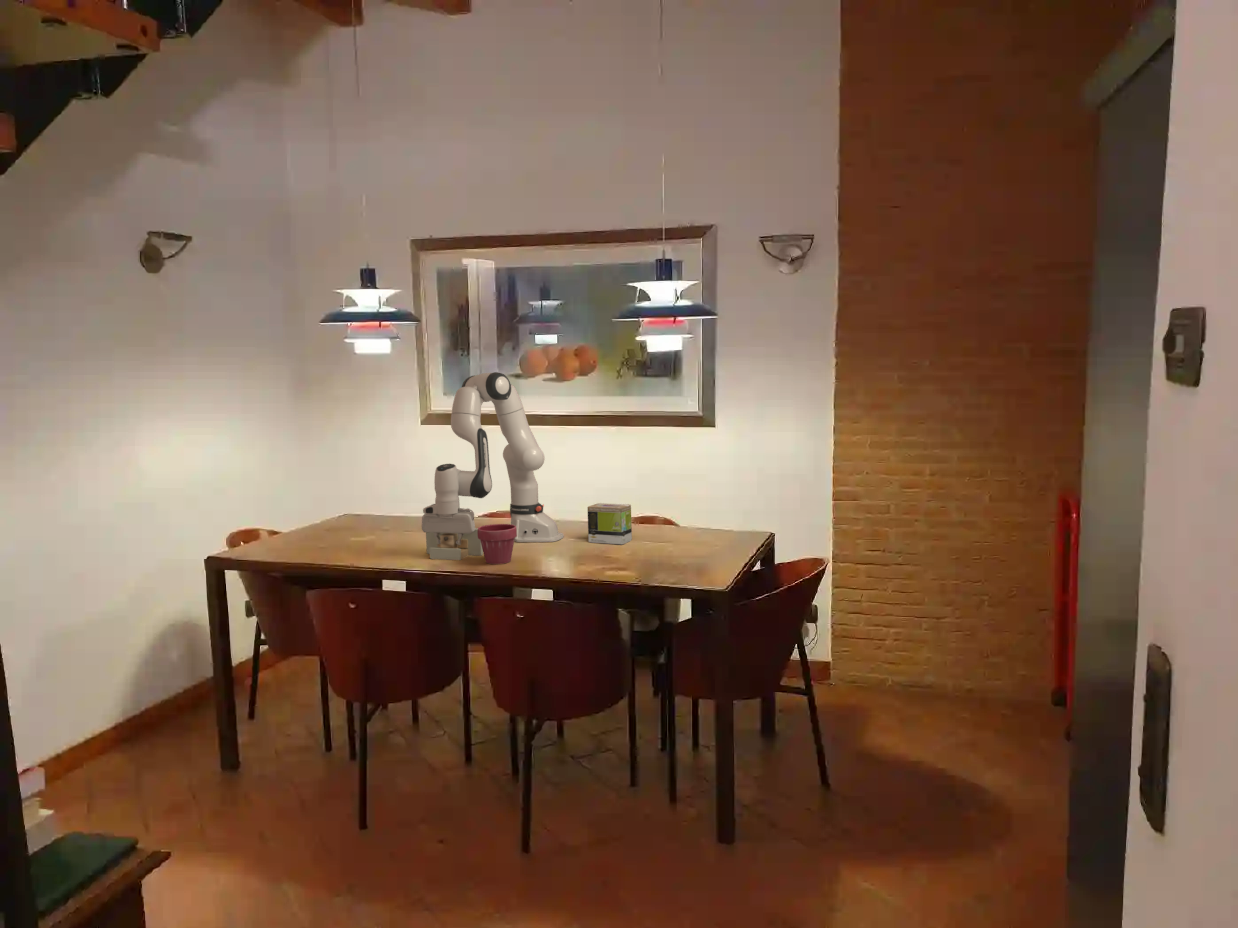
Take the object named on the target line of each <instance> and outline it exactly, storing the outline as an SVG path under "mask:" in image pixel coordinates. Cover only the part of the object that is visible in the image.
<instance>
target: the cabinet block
mask: <svg viewBox="0 0 1238 928" xmlns="http://www.w3.org/2000/svg"><path fill="white" fill-rule="evenodd" d="M456 540H458V534H456V533H444V534H442V535H440V543H441V548H453V549H458V545H456Z"/></svg>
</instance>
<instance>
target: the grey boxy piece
mask: <svg viewBox="0 0 1238 928" xmlns="http://www.w3.org/2000/svg"><path fill="white" fill-rule="evenodd" d="M478 528H479V527H475V531H474V532H473V533H471V534H464V536H463V537H462V539H461V545H458V549H453V548H441V545H438V544H437V540H436V538H435V536H434V533H428V532H425V543H426V554H427V555H429V559H430V560H452V561H453V560H454V561H461V560H463V559H465V558H467V557H468V556H476V557H477V556H484V553H483V549H482V545H481V541H480V539H478ZM442 534H444V533H440V534H439V537H440V535H442ZM456 534H458V533H456ZM458 538H459V536H458Z"/></svg>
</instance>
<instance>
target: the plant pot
mask: <svg viewBox="0 0 1238 928" xmlns="http://www.w3.org/2000/svg"><path fill="white" fill-rule="evenodd" d="M477 528H478V539H480V541H481V545H482V549H483V556H484V559H485V563H486V564H489V565H490V564H491V565H502V564H508V563H510V562H511V561H512V555H513V549H514V544H515V541H514V538H515V537H516V536H517V530H516V526H515V525H511V523H493V524H485V525H481V526H479V527H477Z"/></svg>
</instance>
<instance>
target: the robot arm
mask: <svg viewBox="0 0 1238 928" xmlns="http://www.w3.org/2000/svg"><path fill="white" fill-rule="evenodd" d="M488 402H491V403H492V404H493V407H494V411H495V414H496V418H497V421H498V424H499V426H500V430H501V431H500V432H501V434H502V435H503V437H504V438H505V440H506V441H507V443H508V444H506V445H505V446H504V449H503V452H502V457H503V460H504V463H505V467H506V470H507V475H508V479H509V484H510V485H509V486H510V504H509V513H510V514H509V515H510V524H511V525H515V526H516V530H517V536H516V537H515V538H514V542H516V543H540V542H541V543H545V542H547V543H549V542H551V543H553V542H558V541H560V540H562V539H563V538H564V533H563V532H559V529H558V524H557V522H556V521H555V520H554V519H553V518H551V517H550V515H547V514H546V513H545V512H544V507H545V504H544V503H543V504H542V503H540V502H539V483H538V481H537V479H536V477H535V476H536V475H535V473H534V472H535V471H538V470H539V469H541V468H542V467H543V465H544V463H545V461H546V460H545V459H546V458H545V454H544V451H543V450H542V448H541V447H540V446H539V443H538V442H537V439H536V437H535V436H534V434H533V431H532V430H531V428H530V425H529V422H528V419H527V416H526V411H525V409H524V406H523V402H522V400H521V397H520V395H519V392H518V391H517V388H516V387H515V386H514V385H513V384H512V383H511V382H510V380H509V378H508V376H507V375H506V374H504V373H502V372H499V371H498V372H497V371H496V372H483V373H480V374H477V375H470V376H468V377H467V378H465V380H464V381H463V382H462V385H461V387H459V388H458V389H457V390H456V391H455V396H454V398H453V403H452V406H451V407H452V408H451V415H450V427H451V430H452V432H453V433H454V434H455V435H456V436H457V437H458V438H460V439H462V440H465V441H466V442H468V443H470V444H471V446H472V447H473V449H474V459H475V460H474V462H475V470H473V471H472V470H462V469H458V468H457V466H456V465H455V464H454V463H444V464H440V465H438V466H437V467H436V468H435V471H434V483H433V484H434V491H435V499H434V502H435V503H432V504H431V505H427V506H425V507H423V509H422V513H423V515H422V517H421V530H422V532H423V533H426V532H428V533H434V536H435V538H436V540H437V544H438V545H441V543H440V537H439V534H440V533H458V536H459V538H458V540H456V545H461V539H462V537H463V536H464V534H471V533H473V532H474V531H475V528H476V523H475V512H474V510H472V509H470V508H464V507H463V508H460V496H461V497H471V498H475V499H476V498H478V499H484V498H486V497H487V496H488V495H489V494H490V492H491V491H492V488H493V481H492V475H491V469H490V468H491V467H490V453H489V452H490V451H489V442H488V441H489V440H488V435H487V432H486V431H485V429H483V427H482V424H481V417H482V415H481V413H482V405H483V403H488Z"/></svg>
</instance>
